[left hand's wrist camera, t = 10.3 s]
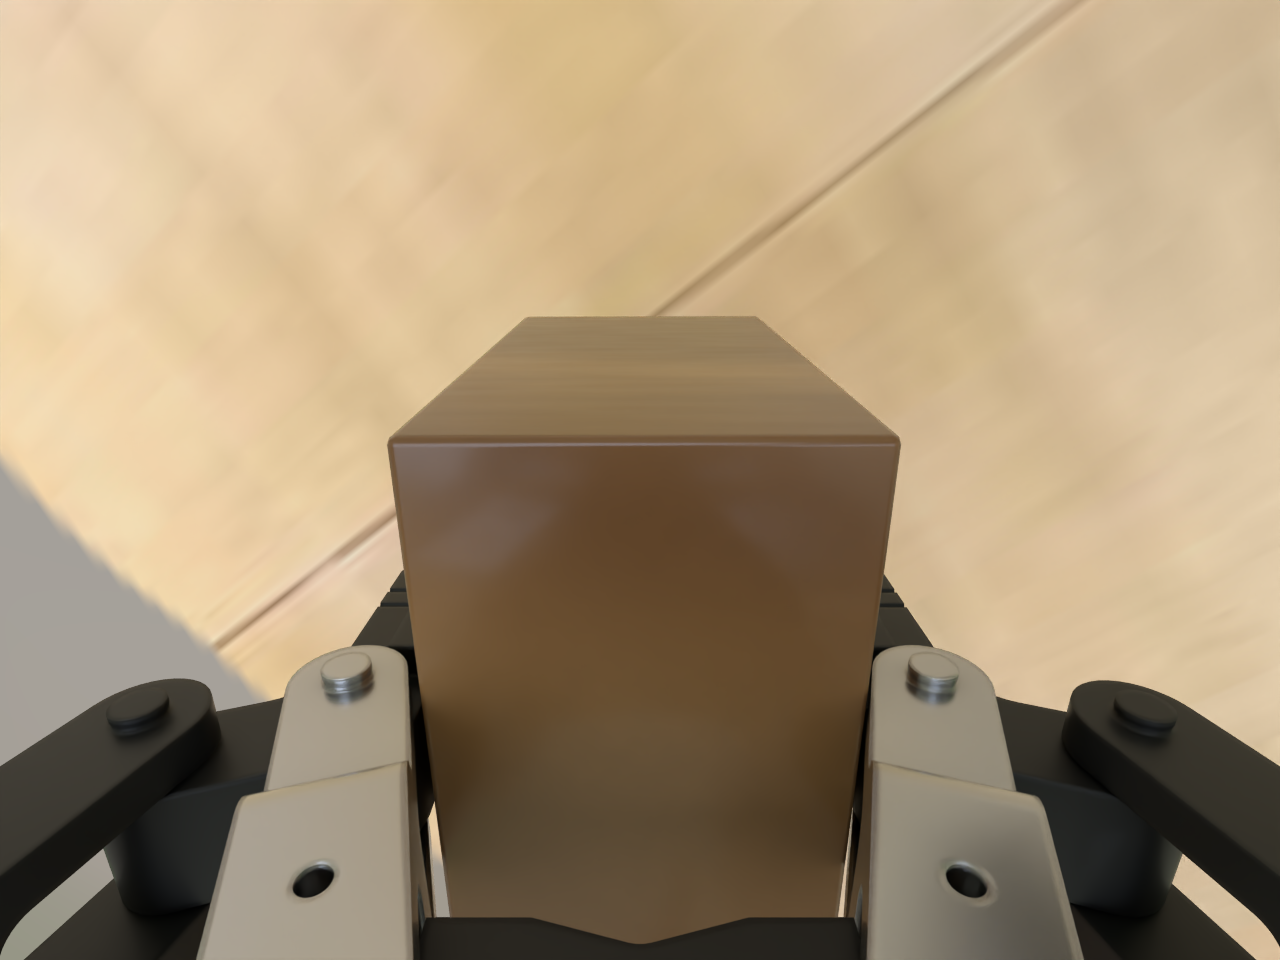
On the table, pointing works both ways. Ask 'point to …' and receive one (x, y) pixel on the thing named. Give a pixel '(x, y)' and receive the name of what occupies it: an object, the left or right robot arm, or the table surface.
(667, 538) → the bar
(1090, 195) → the table surface
